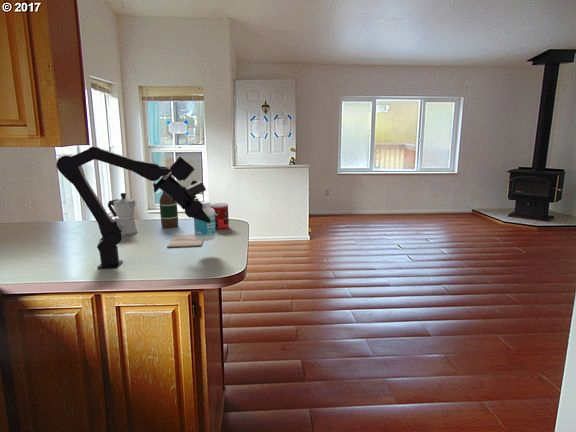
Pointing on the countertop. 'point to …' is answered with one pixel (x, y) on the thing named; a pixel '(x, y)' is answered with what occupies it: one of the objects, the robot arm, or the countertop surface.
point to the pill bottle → (205, 224)
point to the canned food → (221, 215)
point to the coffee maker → (124, 213)
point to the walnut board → (184, 241)
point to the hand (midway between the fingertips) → (208, 219)
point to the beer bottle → (168, 211)
